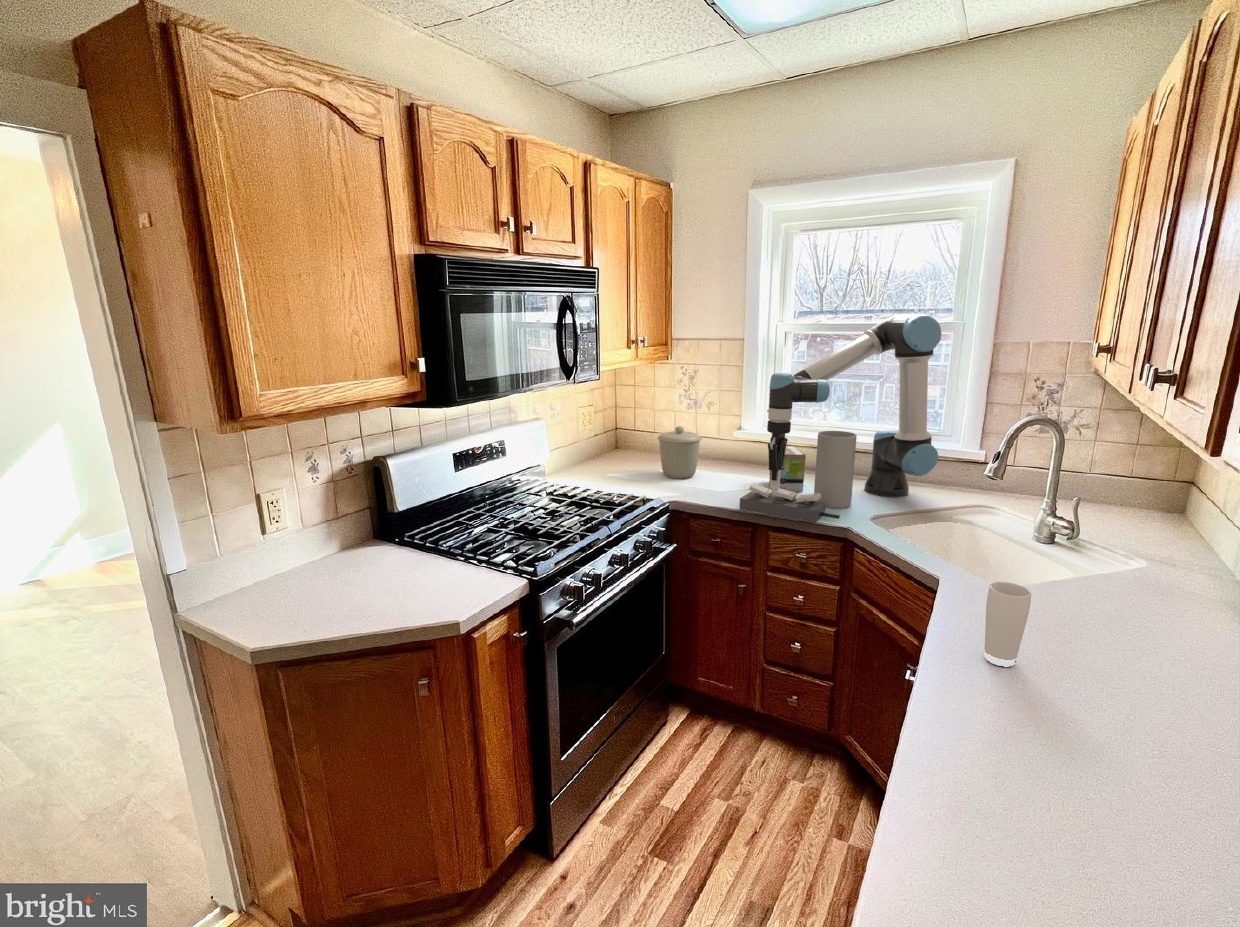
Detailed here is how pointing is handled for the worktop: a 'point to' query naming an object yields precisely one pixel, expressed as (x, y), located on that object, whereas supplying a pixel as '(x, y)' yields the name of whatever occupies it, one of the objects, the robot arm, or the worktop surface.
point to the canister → (679, 453)
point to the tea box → (792, 470)
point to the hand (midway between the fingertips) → (774, 488)
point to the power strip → (784, 507)
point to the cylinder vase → (835, 468)
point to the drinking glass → (1006, 619)
